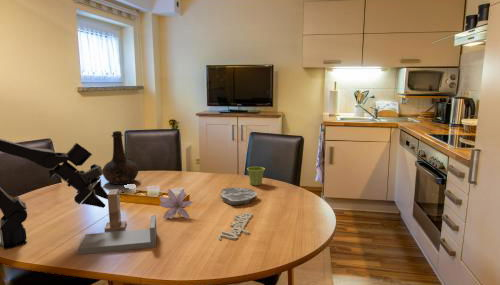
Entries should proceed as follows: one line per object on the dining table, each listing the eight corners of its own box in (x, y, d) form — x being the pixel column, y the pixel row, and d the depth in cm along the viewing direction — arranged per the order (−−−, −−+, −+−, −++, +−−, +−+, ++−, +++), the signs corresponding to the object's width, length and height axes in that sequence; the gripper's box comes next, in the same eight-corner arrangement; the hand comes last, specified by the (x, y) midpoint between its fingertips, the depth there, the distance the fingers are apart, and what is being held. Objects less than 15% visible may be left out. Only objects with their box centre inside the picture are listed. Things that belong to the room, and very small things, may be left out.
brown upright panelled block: (124, 230, 132) (122, 193, 130) (104, 231, 131) (101, 195, 128) (126, 223, 138) (124, 188, 136) (107, 225, 137) (104, 189, 134)
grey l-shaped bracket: (78, 254, 114) (76, 234, 113) (86, 239, 124) (84, 220, 123) (155, 247, 119) (154, 227, 118) (156, 233, 130) (155, 215, 128)
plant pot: (244, 182, 193) (244, 167, 191) (261, 181, 196) (261, 165, 194) (250, 187, 184) (250, 171, 183) (267, 186, 187) (267, 170, 185)
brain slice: (263, 203, 161) (263, 197, 161) (228, 208, 155) (228, 202, 155) (248, 191, 179) (248, 185, 179) (215, 195, 173) (215, 189, 172)
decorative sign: (243, 241, 122) (215, 238, 124) (243, 244, 122) (215, 240, 124) (259, 213, 147) (236, 211, 149) (259, 215, 147) (236, 213, 150)
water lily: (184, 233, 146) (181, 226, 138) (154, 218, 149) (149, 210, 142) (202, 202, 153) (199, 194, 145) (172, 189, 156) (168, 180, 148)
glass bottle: (145, 180, 196) (142, 130, 191) (118, 189, 181) (114, 135, 176) (124, 176, 205) (121, 128, 200) (96, 183, 190) (92, 132, 185)
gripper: (81, 165, 119) (118, 194, 123) (92, 154, 137) (124, 179, 141) (58, 189, 119) (96, 218, 123) (72, 175, 137) (105, 200, 141)
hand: (106, 202), depth 132 cm, fingers open, 9 cm apart
